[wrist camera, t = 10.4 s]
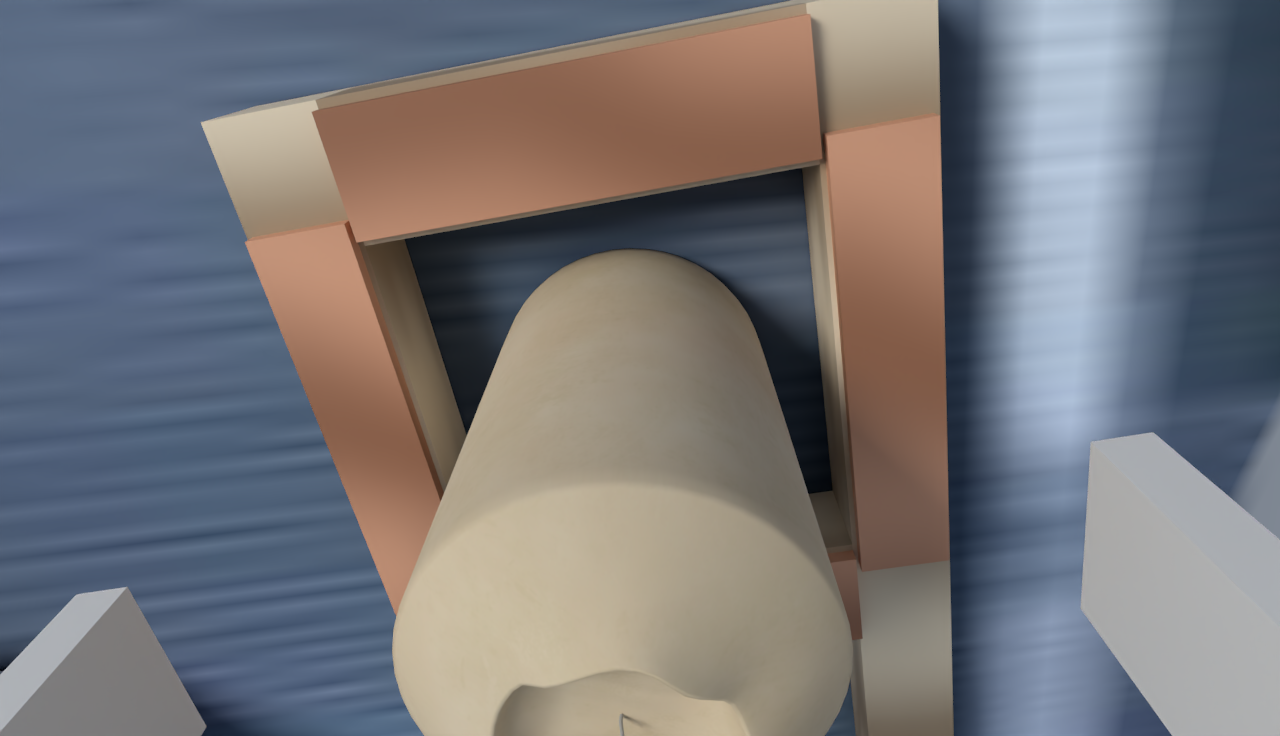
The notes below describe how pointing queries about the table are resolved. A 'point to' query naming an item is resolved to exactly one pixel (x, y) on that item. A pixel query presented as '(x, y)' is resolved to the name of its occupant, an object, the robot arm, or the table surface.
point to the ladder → (622, 169)
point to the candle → (625, 530)
